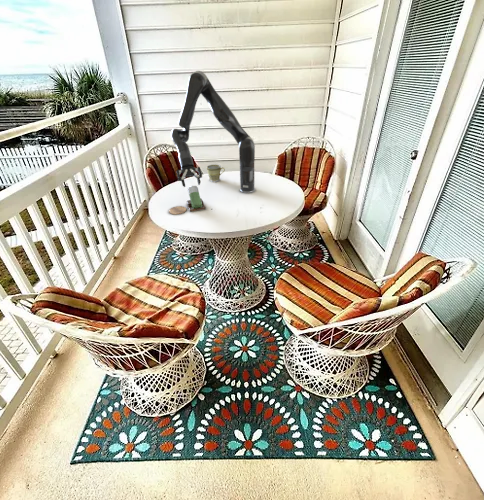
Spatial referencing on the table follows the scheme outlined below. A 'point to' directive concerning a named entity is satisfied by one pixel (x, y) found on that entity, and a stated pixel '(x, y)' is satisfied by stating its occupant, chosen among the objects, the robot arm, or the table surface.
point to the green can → (194, 197)
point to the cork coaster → (177, 210)
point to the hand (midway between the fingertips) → (192, 185)
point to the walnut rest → (195, 208)
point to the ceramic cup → (214, 172)
